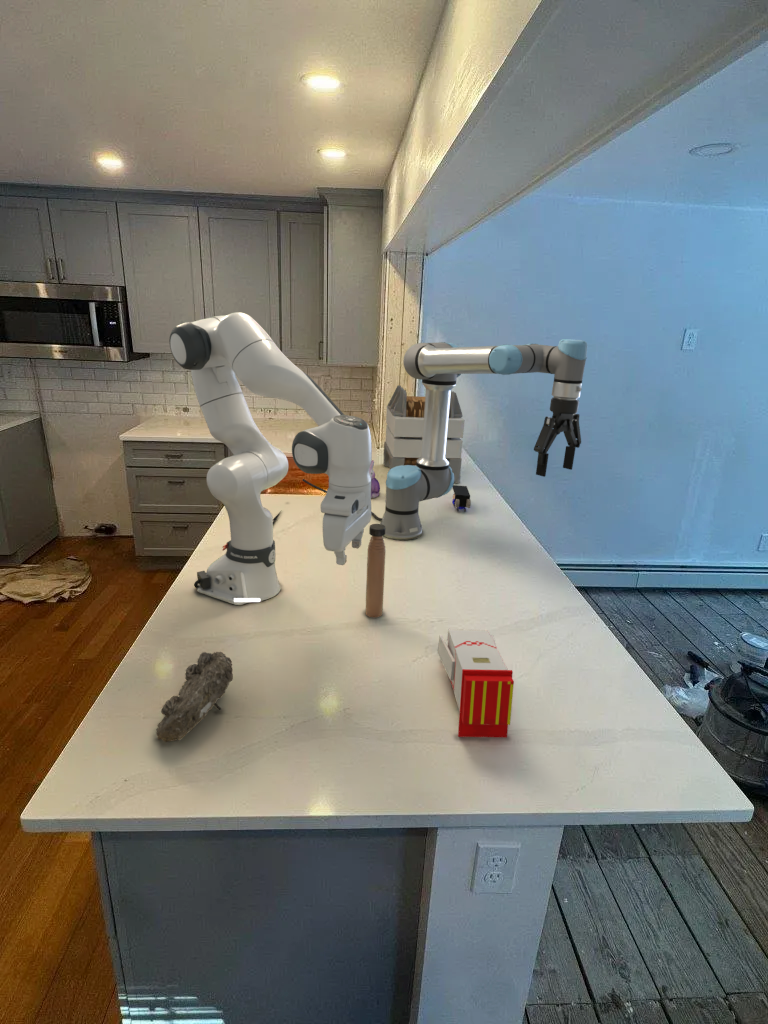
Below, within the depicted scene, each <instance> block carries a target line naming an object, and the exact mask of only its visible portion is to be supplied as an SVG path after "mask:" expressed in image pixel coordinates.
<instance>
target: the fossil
mask: <svg viewBox="0 0 768 1024" xmlns="http://www.w3.org/2000/svg"><path fill="white" fill-rule="evenodd" d="M196 662H197V663H193V664H189V665H188V666H187V668H186V669H185V673H184V676H185V677H184V678H185V681H184V683H183V684H182V685H181V688H180V690H179V692H178V695H173V696H172V697H170V699H168V700H166V701H165V703H164V704H163V705H162V707H161V710H160V712H161V714H162V715H163V718H162V719H161V721H159V722H158V723H157V728H156V732H155V733H156V736H157V740H162V741H163V742H164V743H170V742H174V741H181V740H182V739H183V738H184V737H185V736H186V735H187V734H188V733H189V732H191V731H192V730H193V729H194V728H195V727H196V726H197V725H198V724H199V723H200V722H201V721H202V720H203V719H205V718H206V716H207V715H208V712H209V711H210V710H212V709H213V707H215V708H216V709H217V711H221V710H222V707H220V705H218V704H217V701H218V700H219V699H221V698H222V697H223V696H224V695H225V693H226V689H228V687H229V685H230V683H231V682H233V680H234V679H233V678H234V674H233V671H234V670H233V662H232V659H231V658H230V657H228V656H227V655H226V653H224V652H223V651H216V652H215V651H214V652H212V653H211V652H206V651H204V652H203V651H202V652H201V653H200V654H199V656H198V658H197V661H196Z"/></svg>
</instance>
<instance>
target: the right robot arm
mask: <svg viewBox="0 0 768 1024" xmlns="http://www.w3.org/2000/svg"><path fill="white" fill-rule="evenodd" d="M587 354H588V342H587V341H586V340H581V339H566V338H565V339H561V340H559V342H558V345H547V344H539V343H525V344H502V345H485V346H484V345H483V346H481V345H479V346H459V345H457V344H455V343H452V342H445V341H444V342H442V341H441V342H440V341H439V342H417V343H415V344H412V345H411V346H410V347H409V348H407V350H406V351H405V353H404V356H403V368H404V370H405V372H406V373H407V374H408V376H410V377H411V378H413V379H416V380H421V385H423V387H424V388H425V394H424V395H425V396H424V397H425V409H424V423H423V437H422V451H421V457H420V458H418V459H417V461H416V466H413V465H401V466H396V467H394V468H392V469H390V468H389V470H388V472H387V474H386V479H385V504H384V505H385V507H384V508H385V509H384V513H383V515H382V517H379V516H377V515H376V514H375V513H374V512H373V511H372V510H371V516H372V517H373V518H375V520H377V521H379V524H382V525H384V526H385V535H384V536H383V538H387V539H389V540H395V541H410V540H415V539H418V538H420V537H421V536H422V535H423V525H422V524H421V518H420V515H419V507H420V506H419V505H420V502H423V501H427V500H431V499H437V498H440V497H443V496H446V495H448V493H450V492H451V490H453V485H455V483H454V473H452V469H451V467H450V466H449V462H448V461H447V459H446V458H445V454H446V443H447V431H448V420H449V408H450V396H451V391H452V390H453V388H455V387H456V386H457V378H459V377H460V376H461V375H466V374H467V375H474V374H475V375H487V374H488V375H489V374H490V375H503V376H505V375H506V376H507V375H515V374H516V375H517V374H530V373H531V374H535V373H541V374H550V375H553V383H552V389H551V396H552V397H551V398H550V404H549V411H550V412H551V413H552V416H545V417H544V421H543V425H542V428H541V430H540V432H539V435H538V437H537V440H536V442H535V444H534V447H533V451H534V452H535V453H537V461H536V470H535V475H536V476H539V477H540V476H541V477H543V478H545V477H546V476H547V468H548V463H549V461H548V460H549V454H550V453H548V452H549V450H550V448H551V446H552V445H553V443H554V442H555V440H556V438H557V436H558V435H560V434H561V433H563V435H564V437H565V440H566V443H567V445H566V446H565V451H564V456H563V463H562V468H563V469H566V470H570V471H571V470H573V466H574V461H575V460H574V459H575V454H576V448H577V449H578V448H580V447H581V444H582V435H581V428H580V427H581V426H580V414H579V413H578V412H579V405H580V401H579V398H580V397H581V393H582V392H581V391H582V390H583V389H582V385H583V377H584V372H585V366H586V361H587V358H588V356H587ZM302 482H303V483H305V484H307V485H308V486H310V487H313V488H314V489H316V490H318V491H321V492H323V493H325V494H326V493H327V490H326V489H324V488H321V487H320V486H317V485H315V484H313V483H311V482H310V481H308V480H306V479H305V478H302Z"/></svg>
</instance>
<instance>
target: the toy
mask: <svg viewBox="0 0 768 1024" xmlns="http://www.w3.org/2000/svg"><path fill="white" fill-rule="evenodd" d="M446 640H447V643H446V641H445V639H444V636H443V635H442V634H439V637H438V646H437V656H438V657H439V659H440V661H441V663H442V666H443V668H444V670H445V672H446V674H447V677H448V679H449V681H450V684H451V687H452V690H453V693H454V697H455V701H456V705H457V708H458V711H459V714H458V715H459V716H458V730H457V731H458V732H457V737H458V738H508V731H509V726H510V725H511V717H512V707H513V697H514V696H513V695H514V684H515V680H514V679H513V673H514V671H513V670H512V669H508V667H507V665H506V662H505V661H504V659H503V658H502V655H501V653H500V651H499V649H498V647H497V643H496V639H495V637H494V635H493V634H491V632H490V631H489V629H467V628H466V629H465V628H463V629H461V628H460V629H459V628H448V630H447V639H446Z"/></svg>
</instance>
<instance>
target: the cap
mask: <svg viewBox="0 0 768 1024" xmlns="http://www.w3.org/2000/svg"><path fill="white" fill-rule="evenodd" d="M368 534H369V535H370V537H372V536H375V537H381V536H383V537H384V535H385V526H384V525H382V524H380V523H372V524H370V525H369V532H368Z"/></svg>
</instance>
